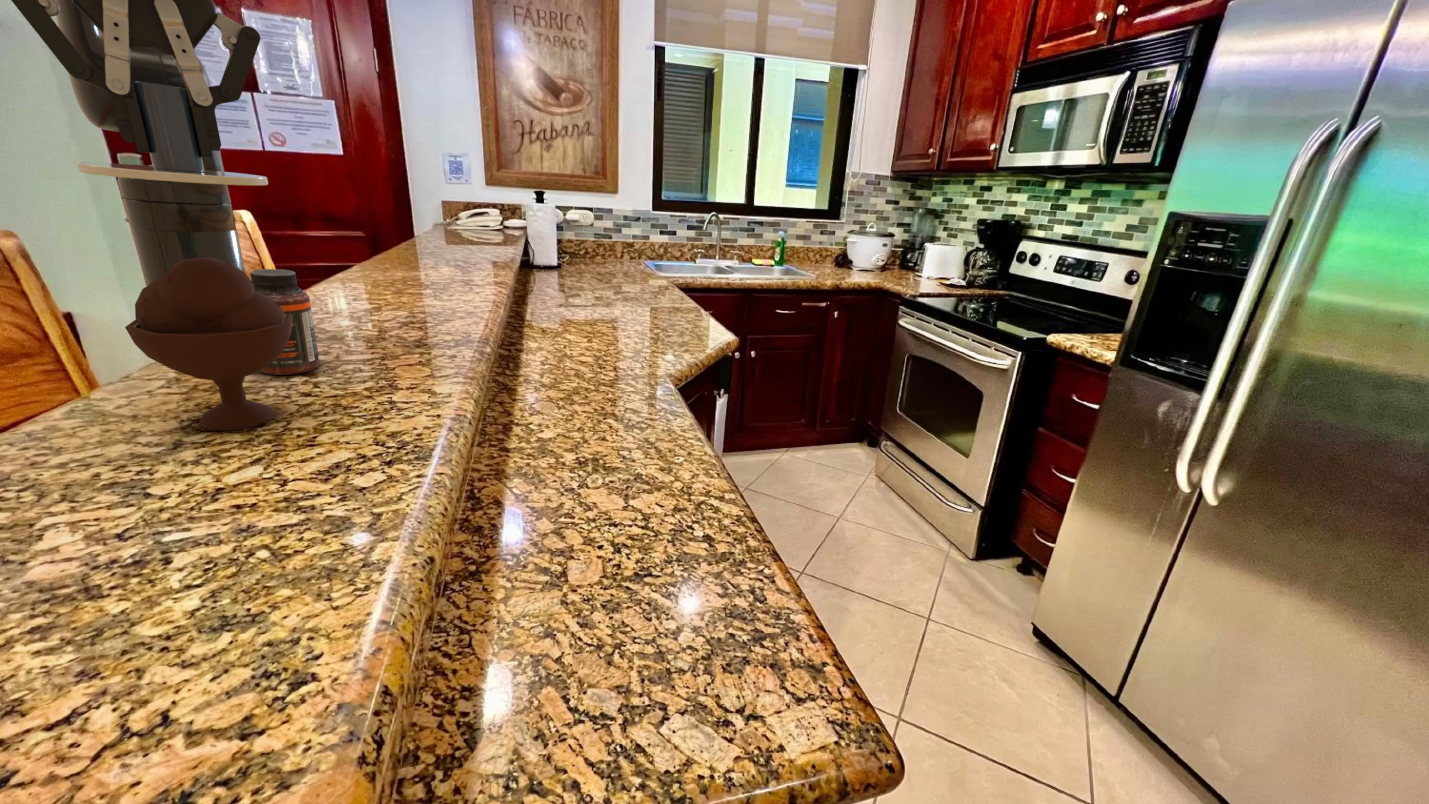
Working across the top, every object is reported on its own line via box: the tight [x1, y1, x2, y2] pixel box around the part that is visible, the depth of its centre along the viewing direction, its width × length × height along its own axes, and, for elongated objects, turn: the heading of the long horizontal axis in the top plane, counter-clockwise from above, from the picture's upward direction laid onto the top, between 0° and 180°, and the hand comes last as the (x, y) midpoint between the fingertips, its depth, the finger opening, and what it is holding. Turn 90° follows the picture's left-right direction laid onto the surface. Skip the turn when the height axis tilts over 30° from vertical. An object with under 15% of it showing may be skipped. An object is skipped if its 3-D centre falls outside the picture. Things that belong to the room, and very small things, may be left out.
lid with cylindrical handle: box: [76, 81, 269, 187], centre depth 43 cm, size 11×11×7 cm
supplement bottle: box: [250, 268, 320, 376], centre depth 63 cm, size 6×6×11 cm
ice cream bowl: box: [124, 258, 293, 431], centre depth 49 cm, size 11×11×15 cm
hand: (175, 153), depth 43 cm, fingers closed on lid with cylindrical handle, 3 cm apart
